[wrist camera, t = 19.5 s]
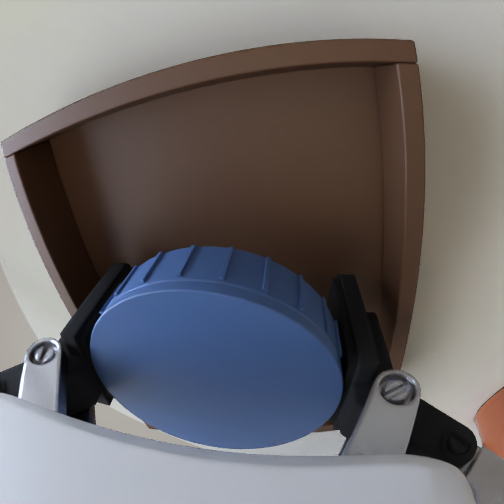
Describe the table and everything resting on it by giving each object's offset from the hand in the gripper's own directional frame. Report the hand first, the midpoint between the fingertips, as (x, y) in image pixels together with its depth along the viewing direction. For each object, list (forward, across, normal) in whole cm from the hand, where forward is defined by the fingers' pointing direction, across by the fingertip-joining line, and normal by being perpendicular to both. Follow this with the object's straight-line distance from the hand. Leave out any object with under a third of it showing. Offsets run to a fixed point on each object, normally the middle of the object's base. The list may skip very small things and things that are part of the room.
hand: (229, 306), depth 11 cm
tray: (+2, 0, 0) cm, 2 cm away
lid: (-3, 0, 0) cm, 3 cm away
